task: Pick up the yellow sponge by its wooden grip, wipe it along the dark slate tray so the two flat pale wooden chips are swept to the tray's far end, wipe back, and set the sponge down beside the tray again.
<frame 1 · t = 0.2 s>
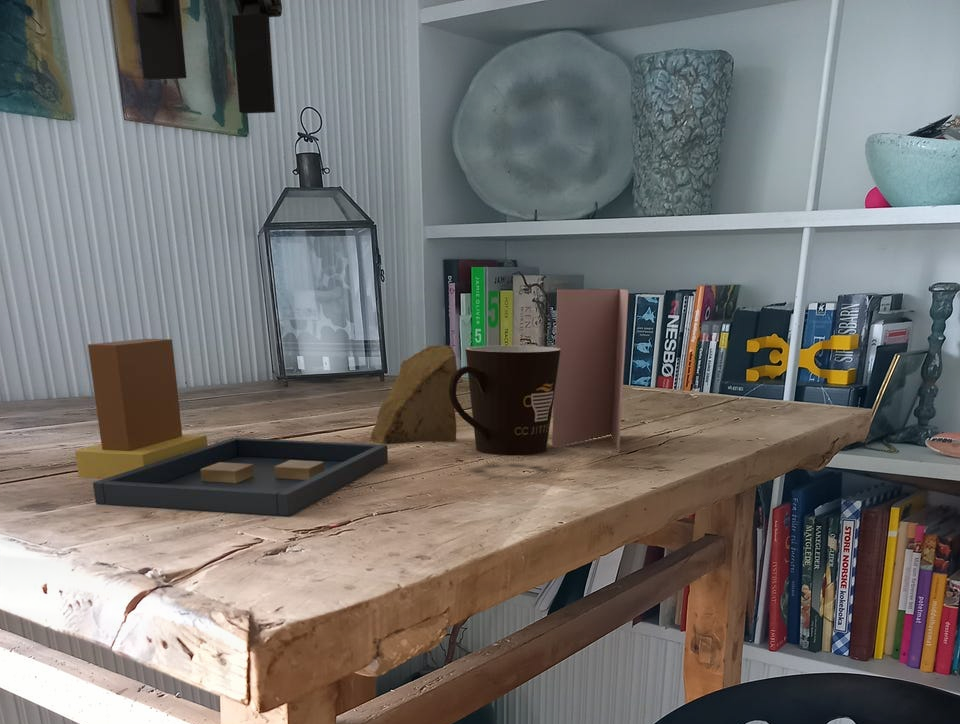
hand: (215, 97, 68), 28 cm above the table, tool pointing down, fingers open, 13 cm apart
chip b: (300, 476, 75), point 1 cm above the table, touching tray
tray: (258, 493, 73), on the table
chip a: (228, 479, 73), point 1 cm above the table, touching tray
rock: (413, 447, 95), on the table
coffee mug: (496, 462, 87), on the table
greeting card: (606, 446, 96), on the table
sponge: (148, 478, 78), on the table
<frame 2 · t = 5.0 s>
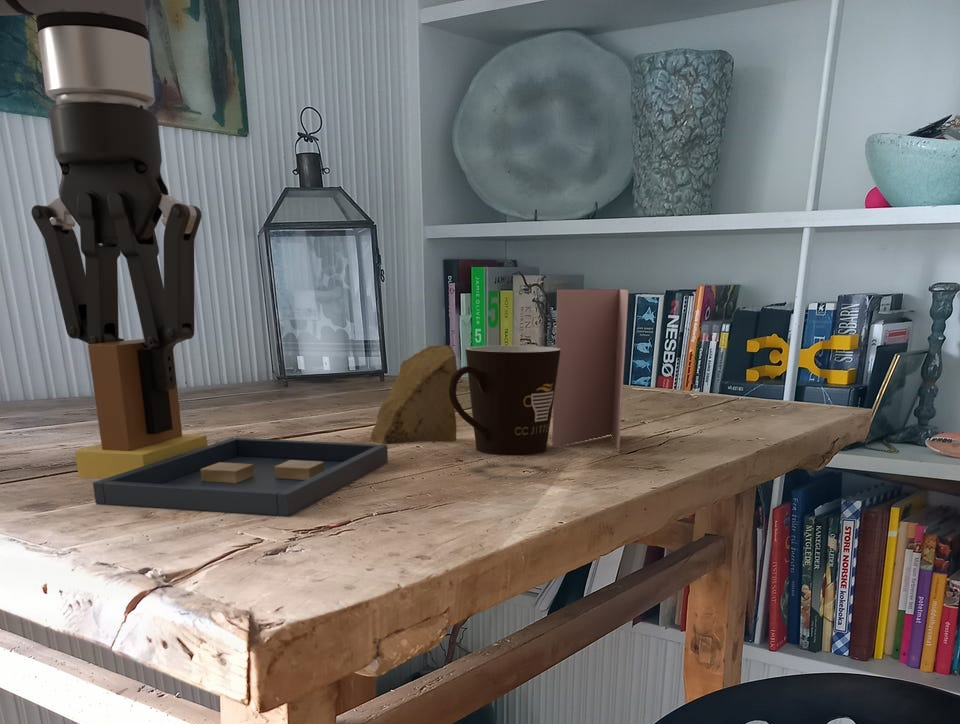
hand: (142, 430, 77), 4 cm above the table, tool pointing down, fingers closed on sponge, 2 cm apart
sponge: (148, 478, 78), on the table, touching gripper
everything else where it was.
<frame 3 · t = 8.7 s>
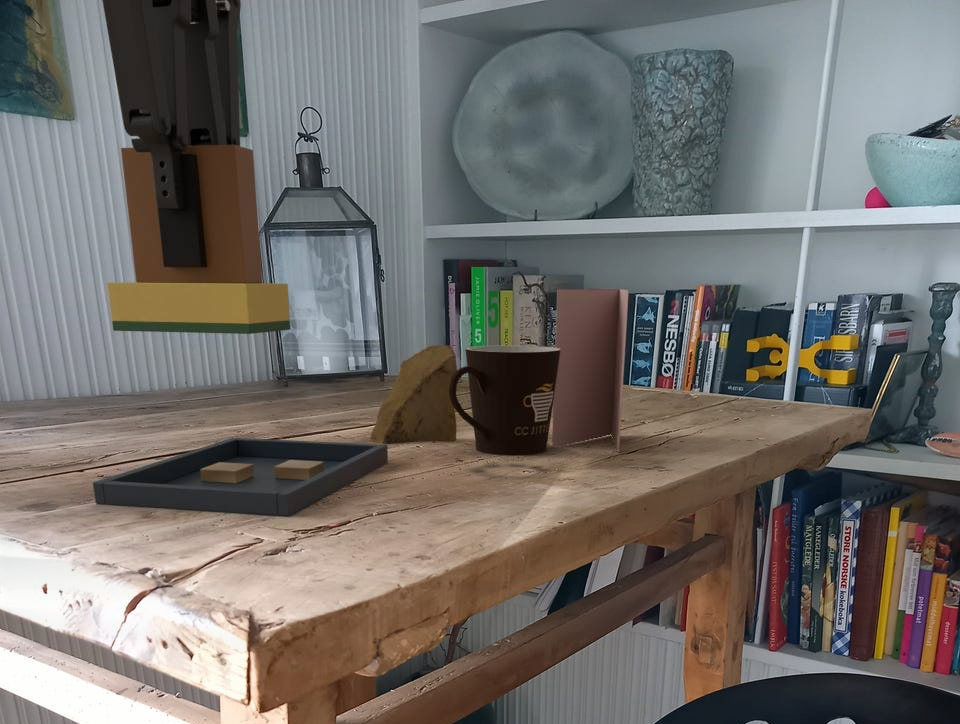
hand: (198, 266, 62), 16 cm above the table, tool pointing down, fingers closed on sponge, 2 cm apart
sponge: (204, 330, 63), point 12 cm above the table, touching gripper
everything else where it was.
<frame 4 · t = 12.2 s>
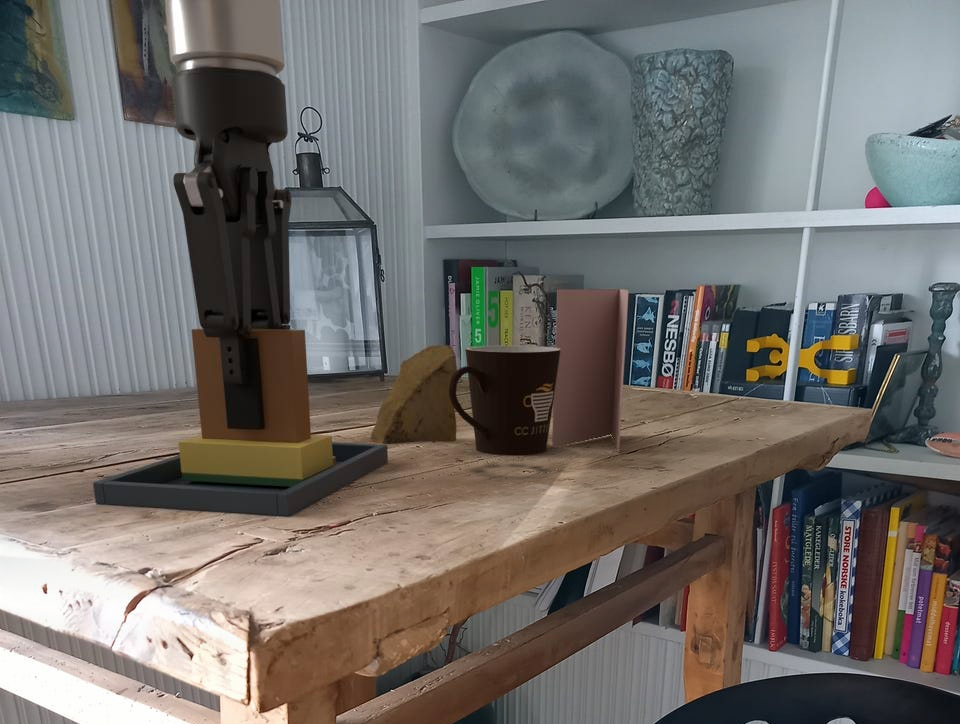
hand: (255, 424, 72), 5 cm above the table, tool pointing down, fingers closed on sponge, 2 cm apart
chip b: (313, 470, 77), point 1 cm above the table, touching tray
chip a: (256, 467, 78), point 1 cm above the table, touching sponge, tray
sponge: (259, 476, 73), point 1 cm above the table, touching chip a, gripper
everything else where it was.
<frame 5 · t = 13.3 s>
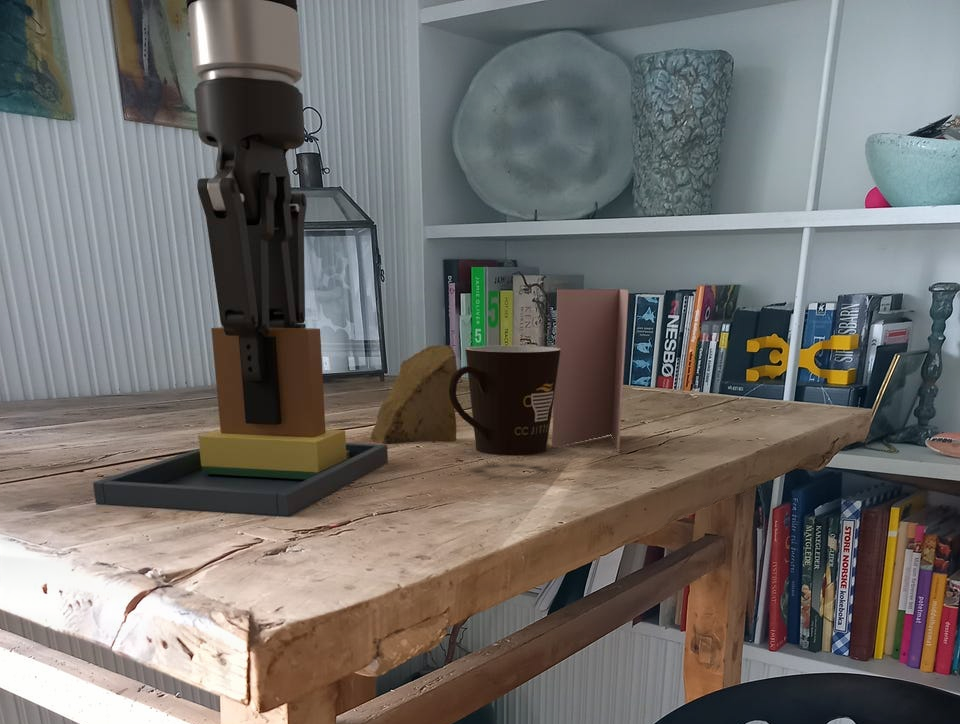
hand: (272, 420, 75), 5 cm above the table, tool pointing down, fingers closed on sponge, 2 cm apart
chip b: (327, 464, 80), point 1 cm above the table, touching sponge, tray
chip a: (271, 461, 81), point 1 cm above the table, touching sponge, tray
sponge: (276, 470, 76), point 1 cm above the table, touching chip a, chip b, gripper
everything else where it was.
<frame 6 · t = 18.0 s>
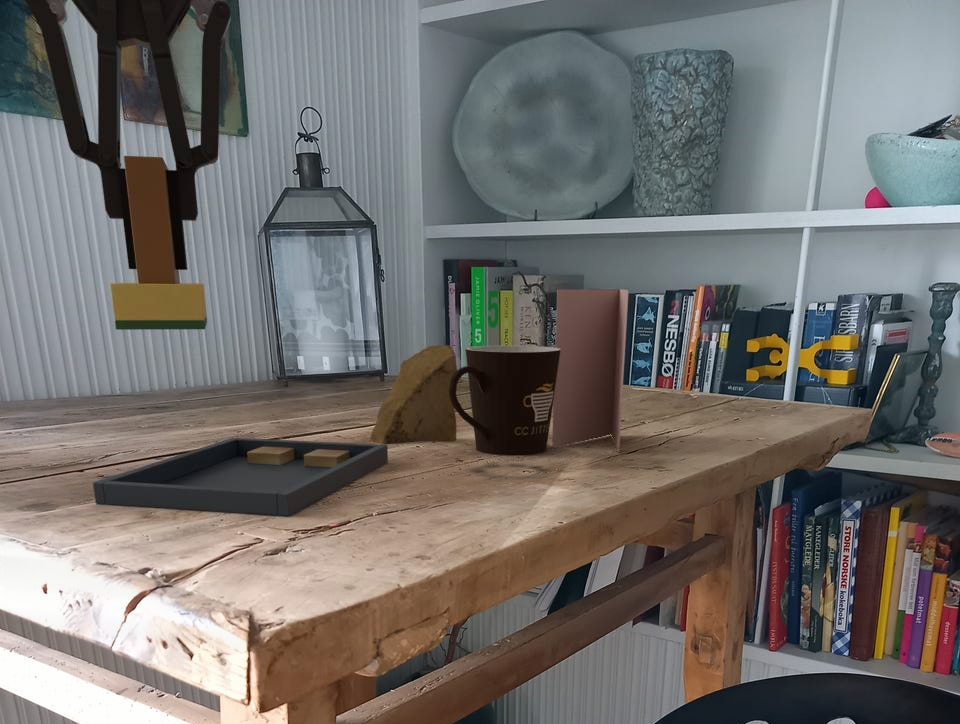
hand: (158, 268, 69), 16 cm above the table, tool pointing down, fingers closed on sponge, 2 cm apart
chip b: (327, 464, 80), point 1 cm above the table, touching tray
chip a: (271, 461, 81), point 1 cm above the table, touching tray
sponge: (164, 326, 70), point 12 cm above the table, touching gripper
everything else where it was.
when the fingers open (4 cm above the table, at t = 22.0 s): sponge stays where it is, on the table.
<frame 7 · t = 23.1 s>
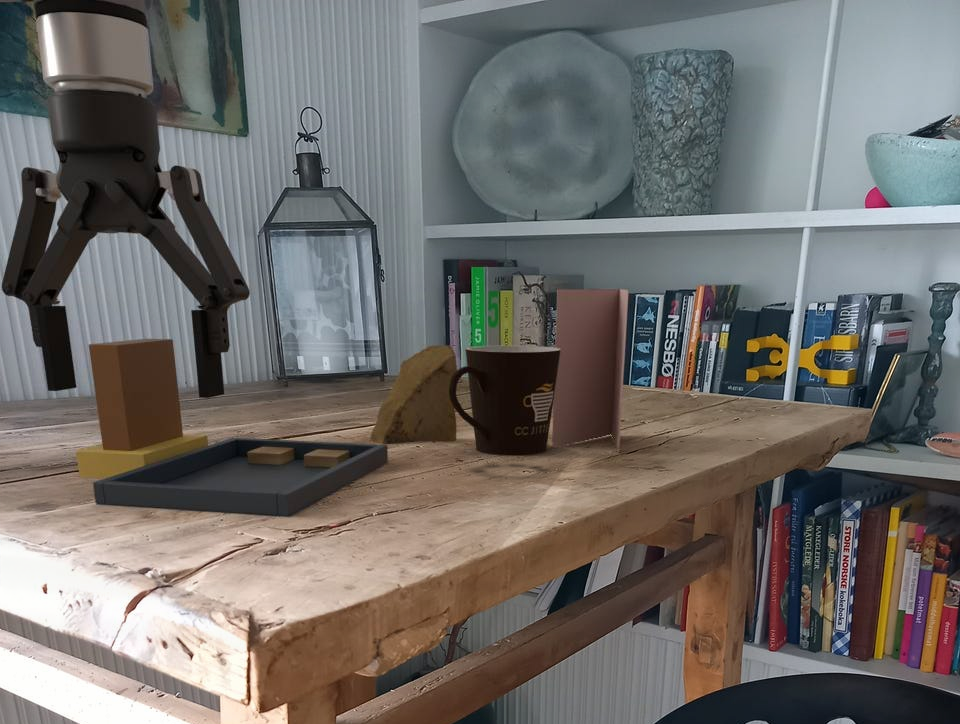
hand: (135, 393, 76), 7 cm above the table, tool pointing down, fingers open, 13 cm apart
sponge: (149, 478, 78), on the table
everything else where it was.
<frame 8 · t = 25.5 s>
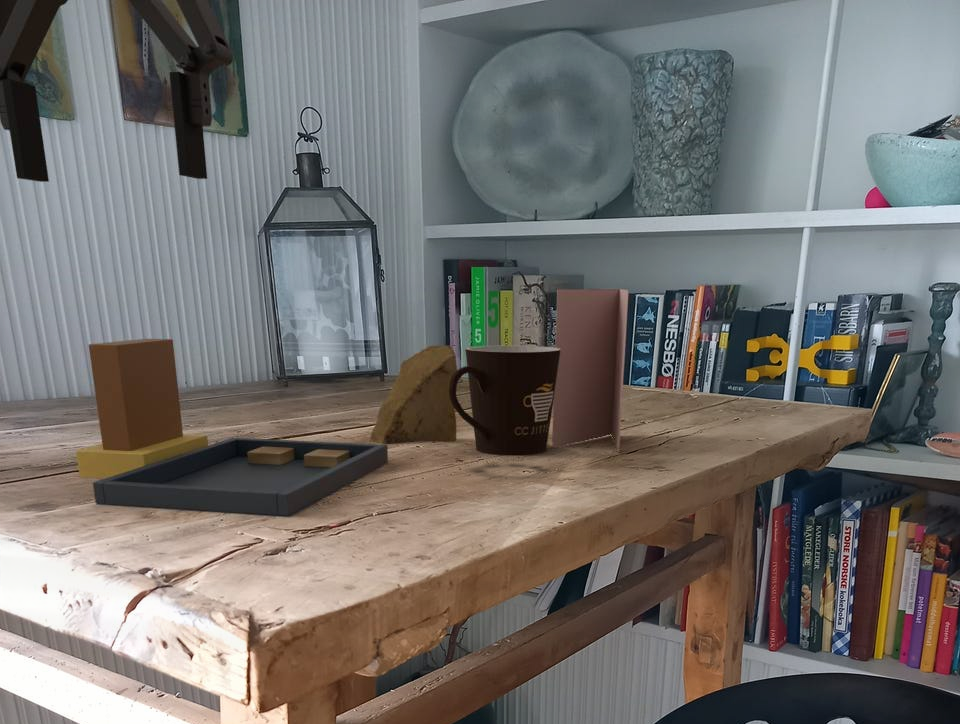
hand: (111, 179, 70), 23 cm above the table, tool pointing down, fingers open, 13 cm apart
nothing on the table moved.
at the end: chip a inside the target area in the tray (2.6 cm from its centre), point 1.0 cm above the tray's base; chip b inside the target area in the tray (2.8 cm from its centre), point 1.0 cm above the tray's base; sponge inside the target area (0.1 cm from its centre), on the table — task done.
